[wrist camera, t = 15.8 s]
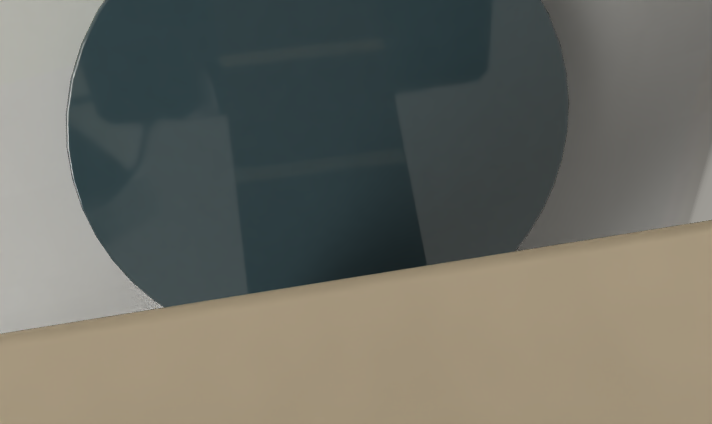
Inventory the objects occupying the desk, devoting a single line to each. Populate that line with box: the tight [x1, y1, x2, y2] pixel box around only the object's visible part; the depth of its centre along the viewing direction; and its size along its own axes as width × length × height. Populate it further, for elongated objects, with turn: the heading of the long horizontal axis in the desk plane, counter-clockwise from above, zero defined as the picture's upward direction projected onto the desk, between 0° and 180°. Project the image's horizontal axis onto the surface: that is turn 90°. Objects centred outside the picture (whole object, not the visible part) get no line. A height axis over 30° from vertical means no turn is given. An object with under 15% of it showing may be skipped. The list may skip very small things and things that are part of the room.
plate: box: [66, 0, 569, 307], centre depth 14 cm, size 12×12×1 cm
